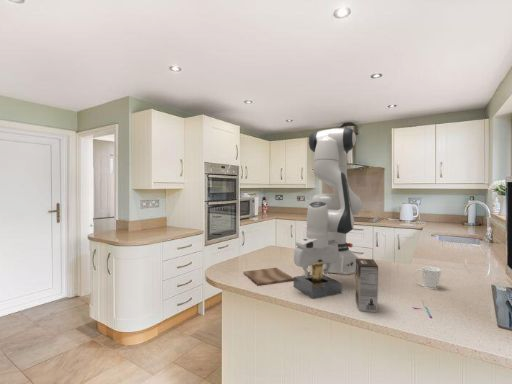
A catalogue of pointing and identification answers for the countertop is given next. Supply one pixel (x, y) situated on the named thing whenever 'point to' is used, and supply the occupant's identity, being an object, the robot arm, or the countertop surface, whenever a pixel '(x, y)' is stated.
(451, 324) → the countertop surface
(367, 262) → the coffee box
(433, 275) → the cup
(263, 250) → the countertop surface
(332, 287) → the metal socket
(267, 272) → the walnut board
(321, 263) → the brass peg
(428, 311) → the squeegee
